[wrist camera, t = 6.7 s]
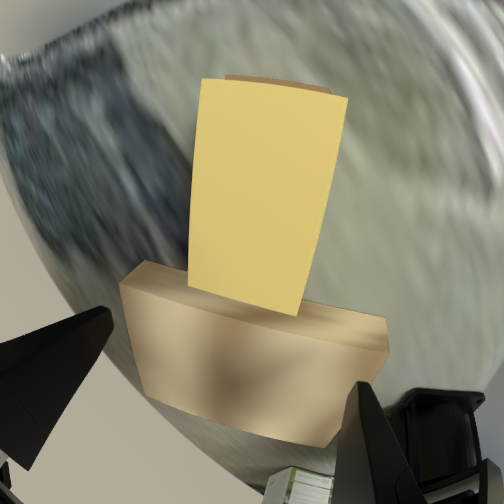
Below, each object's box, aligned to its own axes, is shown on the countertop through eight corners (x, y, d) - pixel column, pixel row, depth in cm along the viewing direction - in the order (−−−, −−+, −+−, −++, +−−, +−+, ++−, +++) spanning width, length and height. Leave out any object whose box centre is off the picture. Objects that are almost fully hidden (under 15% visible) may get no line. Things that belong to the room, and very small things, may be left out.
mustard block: (308, 261, 13) (344, 100, 10) (296, 316, 10) (349, 91, 6) (225, 240, 14) (244, 83, 10) (187, 285, 10) (202, 72, 7)
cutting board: (385, 317, 13) (389, 353, 11) (328, 419, 18) (324, 448, 16) (144, 259, 16) (118, 283, 13) (160, 372, 20) (145, 395, 18)
